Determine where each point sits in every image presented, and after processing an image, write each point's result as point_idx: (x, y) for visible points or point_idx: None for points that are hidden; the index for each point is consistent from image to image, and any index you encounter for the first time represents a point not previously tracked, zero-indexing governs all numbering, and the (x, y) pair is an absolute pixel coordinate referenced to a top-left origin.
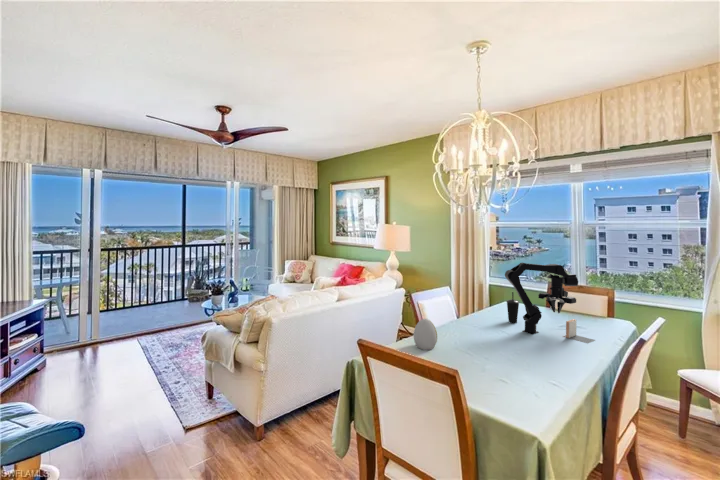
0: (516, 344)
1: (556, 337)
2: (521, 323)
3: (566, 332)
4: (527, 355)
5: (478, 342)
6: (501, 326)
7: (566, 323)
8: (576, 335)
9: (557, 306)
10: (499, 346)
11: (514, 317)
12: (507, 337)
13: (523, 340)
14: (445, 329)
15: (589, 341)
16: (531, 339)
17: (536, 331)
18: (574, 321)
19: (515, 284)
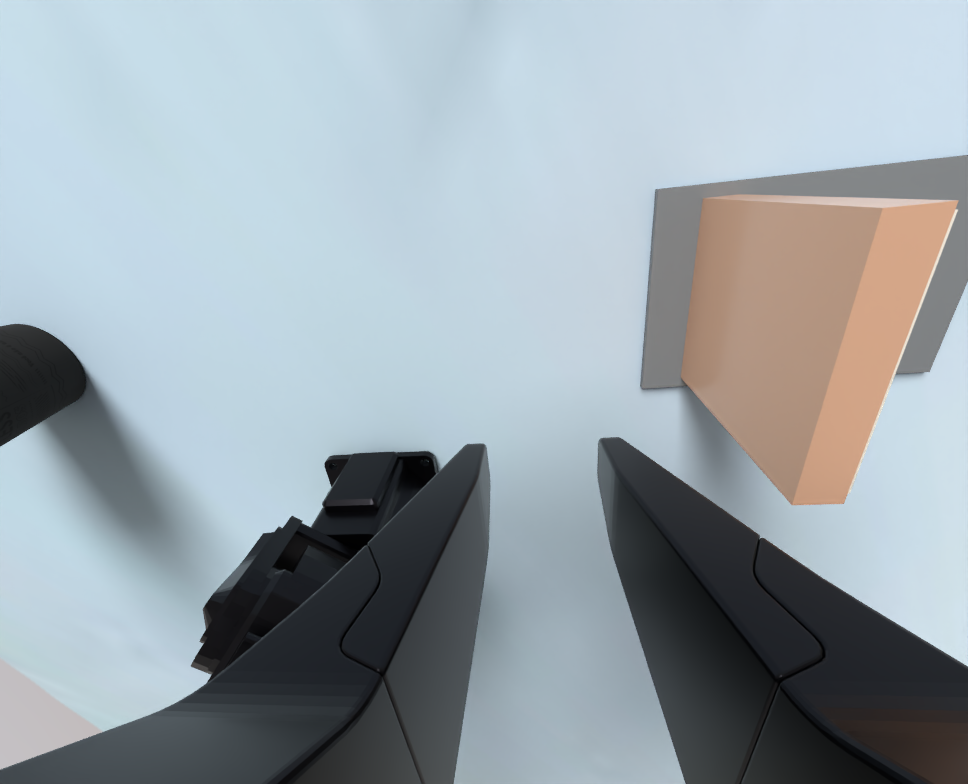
0: (528, 711)
1: (607, 434)
2: (92, 318)
3: (710, 405)
4: (659, 767)
5: None
6: (171, 540)
7: (775, 478)
8: (744, 191)
9: (681, 765)
10: (501, 764)
11: (15, 423)
12: None
13: (502, 650)
14: None
15: (939, 289)
16: (517, 607)
17: (411, 463)
18: (904, 309)
19: None
